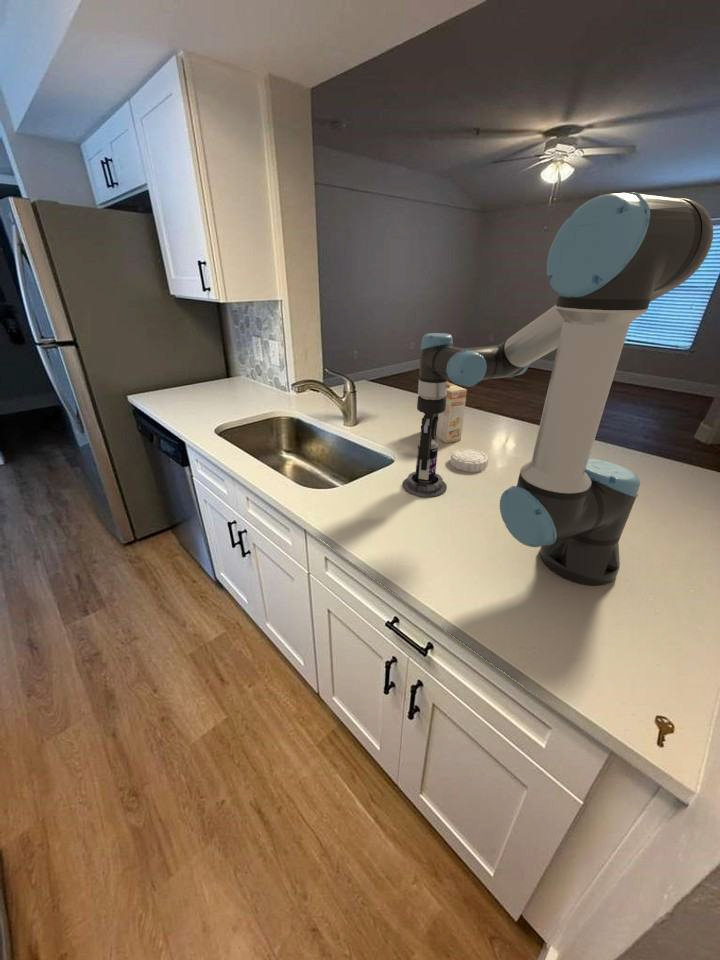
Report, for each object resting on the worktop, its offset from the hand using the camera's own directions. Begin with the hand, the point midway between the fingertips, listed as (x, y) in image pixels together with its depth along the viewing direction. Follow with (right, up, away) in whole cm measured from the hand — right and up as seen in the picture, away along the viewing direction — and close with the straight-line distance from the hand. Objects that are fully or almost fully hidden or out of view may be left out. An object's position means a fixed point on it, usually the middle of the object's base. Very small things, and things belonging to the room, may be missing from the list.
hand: (425, 473), depth 113 cm
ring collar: (0, -4, +2) cm, 4 cm away
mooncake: (+17, +3, +16) cm, 23 cm away
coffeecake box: (+13, +15, +38) cm, 43 cm away
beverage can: (0, -2, +1) cm, 2 cm away
